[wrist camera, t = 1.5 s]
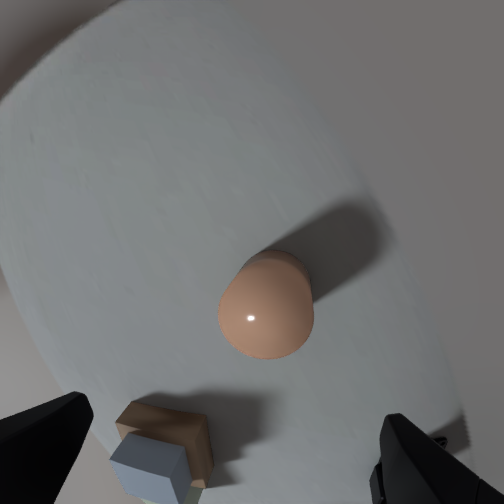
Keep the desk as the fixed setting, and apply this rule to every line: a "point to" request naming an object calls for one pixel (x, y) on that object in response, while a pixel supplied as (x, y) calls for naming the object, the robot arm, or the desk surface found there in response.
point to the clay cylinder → (268, 306)
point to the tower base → (172, 434)
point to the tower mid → (152, 469)
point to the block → (190, 499)
